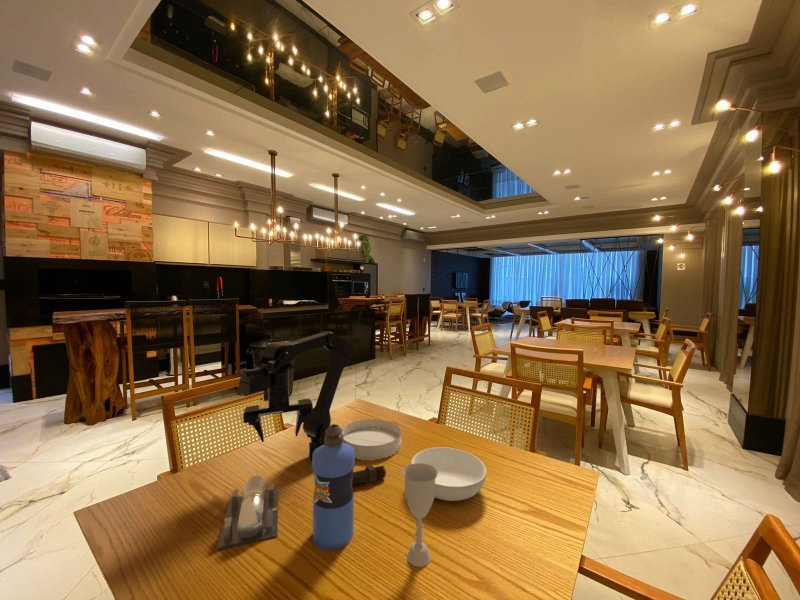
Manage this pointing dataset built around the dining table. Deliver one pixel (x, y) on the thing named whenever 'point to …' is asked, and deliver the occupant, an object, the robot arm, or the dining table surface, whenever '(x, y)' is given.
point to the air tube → (251, 508)
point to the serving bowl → (453, 472)
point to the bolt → (368, 475)
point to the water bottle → (333, 491)
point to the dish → (372, 438)
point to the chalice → (419, 506)
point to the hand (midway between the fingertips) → (279, 438)
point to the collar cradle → (230, 523)
